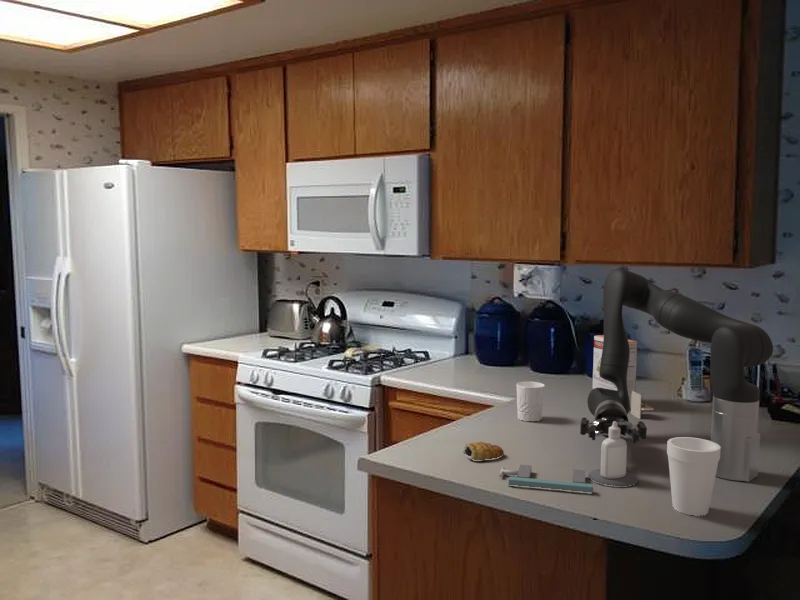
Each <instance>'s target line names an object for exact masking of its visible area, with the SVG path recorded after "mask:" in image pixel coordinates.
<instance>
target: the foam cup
mask: <svg viewBox="0 0 800 600" xmlns="http://www.w3.org/2000/svg"><path fill="white" fill-rule="evenodd" d="M666 443H667V444H666V454H667V459H668V468H669V469H668V470H669V471H668V472H669V481H670V482H669V483H670V491H671V492H670V493H671V500H672V501H671V503H672V508H673V507H674V509H675V510H677V511H679V512H682V513H685V514H689V515H694V516H693V517H703V515H704V516H706V514H707V515H708V513H709V509H710V504H711V499H712V495H713V490H714V485H715V480H716V477H717V476H716V471H717V466H718V462H719V460H720V451H721V447H720V446H719V445H718V444H717V443H714V442H712V441H711V440H708V439H704V438H699V437H690V436H679V437H678V436H676V437H672V438H669V439H668V440H667V442H666ZM674 509H673V510H674ZM675 510H674V511H675ZM677 511H676V512H677ZM679 512H678V513H679ZM685 514H684V515H685ZM689 515H688V516H689ZM700 515H702V516H700Z"/></svg>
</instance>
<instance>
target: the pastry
mask: <svg viewBox="0 0 800 600" xmlns="http://www.w3.org/2000/svg"><path fill="white" fill-rule="evenodd" d="M462 453H464V454H466V455H468V456H471V457H469V458H470V459H474V460H483V461H485V459H492V458H497V457H500V456H502V455H505V453H504V449H503V448H502V447H501V446H499V445H497V444H491V443H488V442H483V441H478V442H469V443H465V445H464V447H463V450H462ZM464 454H463V455H464ZM470 459H469V460H470Z"/></svg>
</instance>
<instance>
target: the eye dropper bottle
mask: <svg viewBox="0 0 800 600" xmlns="http://www.w3.org/2000/svg"><path fill="white" fill-rule="evenodd" d="M600 447H601V449H600V469H601V473H600V474H601V476H602V477H604V478H607V479H616V478H621V477H624V476H625V475H626V472H627V452H628V451H627V450H628V449H627V441H626V440H625V439H624V438H621V437H620V428H619V427H618V426H617V422H616V421H613V424H612V426H611V427H609V438H605V439H604V440H603V441H602V443H601V446H600Z"/></svg>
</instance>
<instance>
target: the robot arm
mask: <svg viewBox="0 0 800 600" xmlns="http://www.w3.org/2000/svg"><path fill="white" fill-rule="evenodd" d="M603 283H604V284H603V290H602V291H603V293H602V296H603V297H602V300H603V301H602V303H603V306H602V307H603V313H602V314H603V316H602V317H603V335H604V340H603V350H602V357H601V363H600V370H599V375H600V377H601V378H603V379H605V380H607V381H610V382H612V383H614V384H615V385H616V387H617V391H616V390H611V389H605V388H595V389H593V388H592V389H593V390H590V392H589V393H588V397H587V407H588V410H589V412H590V413H591V415H592V416H594V420H593V421H590V419H588V418H587V417H581V421H580V426H579V427H580V431H579V433H580V435H582V436H585V435H587V434H588V438H589V439H591V440H592V441H596V437H604V438H605V439H607V438H609V427H611V426H612V424H613V421H616V422H617V426H618V427H619V428H620V438H621V437H622V438H623V439H631V442H632V444H637V442H640V439H641V440H647V439H648V438H647V432H648V431H647V430H648V427H647V426H646V424H645V423H644V421H638V422H636V424H633V423H632V422H630V421H629V417H628V414H629V412H630V410H631V409H630V401H629V395H628V389H627V370H628V364H629V356H630V348H629V342H628V340H629V338H628V336H627V332H626V329H625V325H624V320H623V306H624V307H627V308H630V309H634V310H638V311H641V312H644V313H645V314H648V315H650V316H651V317H653V319H654V320H655V322H657V324H658V325H659V326H661V327H662V328H664V329H665V330H668V331H670V332H671V333H674V334H675V335H677V336H679V337H682V338H685V339H690V340H694V341H697V342H698V341H699V342H703V343H708V344H710V349H709V350H710V352H709V356H710V357H709V358H710V362H709V363H710V364H709V365H710V366H709V367H710V374H709V375H710V383H711V387H712V390H713V391H712V392H713V393H712V407H711V408H712V411H711V425H710V426H711V427H710V441H712V442H714V443H717V444H718V445H719V446H720V447H721V451H720V460H719V462H718V466H717V471H716V476H715V477H718V478H721V479H725V480H730V481H742V482H747V483H749V482H750V481H752V480H754V479H755V478H757V477H758V476H759V468H760V467H759V466H760V449H761V447H760V446H761V433H760V432H758V427H759V425H758V424H759V412H760V411H759V410H760V409H759V408H760V397H761V396H760V395H761V391H760V388H759V387H758V386H757V385H756V384H753V383H751V382H748V381H747V380H746V379H745V368H751V367H753V368H754V367H757V366H761V365H763V364H765V363H766V362H768V361H769V360H770V358H771V357H772V356H773V353H774V345H773V342H772V339H771V337H770V336H769V334H768V333H767V332H766V331H765V330H764V329H763V328H762V327H760V326H757V325H755V324H754V323H753V324H752V323H749V322H745V321H742V320H739V319H736V318H733V317H730V316H728V315H725V314H723V313H721V312H719V311H717V310H716V309H713V308H711V307H709V306H707V305H705V304H702V303H700V302H699V301H697V300H695V299H692V298H690V297H688V296H687V295H684V294H682V293H679V292H674V291H671V290H665V289H663V288H661V287H659V286H658V285H656V284H654V283H653V282H652V281H650V280H649V279H648V278H646V277H645V276H643V275H641V274H638V273H635V272H633V271H630V270H628V269H625V268H621V267H619V268H618V267H617V268H614V269H612V270H611V271H610V272H609V273H608V274H607V276H606V278H605V279H604V282H603Z"/></svg>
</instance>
